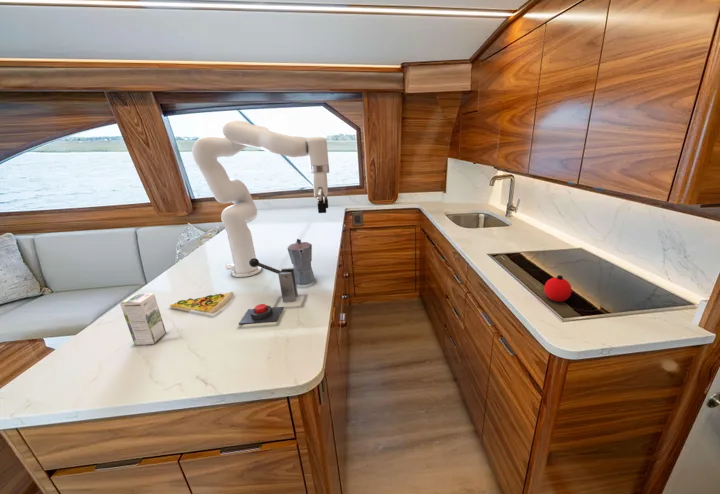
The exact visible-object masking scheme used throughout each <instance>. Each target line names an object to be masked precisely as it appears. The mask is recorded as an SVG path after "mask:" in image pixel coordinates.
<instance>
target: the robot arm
mask: <svg viewBox="0 0 720 494" xmlns="http://www.w3.org/2000/svg"><path fill="white" fill-rule="evenodd" d="M222 133H223V134H222V135H205V136H201V137H198V139H196V140H195V142H194V143H193V145H192V153H191V154H192V157H193V160H194V162H195V164H196V165H197V168H198V169H199V171H200V172H201V174H202V176H203V178H204V180H205V182H206V185H207V186H208V187H209V190H210V192H211V193H212V196H213V197H214V199H215V200H216V201H217V202H218V203H219V204H229V203H232V205H229V206H227V207H225V208H224V209H223V210H222V211H221V214H220V219H221V223H222V225H223V227H224V229H225V233H226V237H227V240H228V244H229V249H230V252H231V257H232V258H231V259H232V262H233V263H228V264H225V269H226V270H227V271H230V270H231V275H232V276H233V277H235V278H246V277H251V276H254V275H257V274H259V273H260V272H262V270H263V268H261V267H259V266H257V267H251V266H250V265H249V261H250V260H251V259H253V258H256V259H257V256H256V251H255V245H254V239H253V235H252V232H251V230H250V228H249V226H248V224H249V223H251V222H253V221H254V220H255V219H256V218H257V216H258V208H257V206H256V204H255V202H254V200H253V197H252V195H251V193H250V192H249V189H248V187H247V185H246V184H245V183H244V182H243V181H241V180H239V179H237V178H230V177H229V175H228V173H227V171H226V169H225V167H224V166H223V165H222V164H221V162H219V160H218V159H220V158H231V157H233V156H235V155H237V154H238V153H240V152H241V151H243V150H244V149H245V148H247V147H251V148H255V149H260V150H263V151H266V152H269V153H272V154H277V155H279V156H280V155H281V156H285V157H289V158H302V157H308V162H309V171H310V174H312V185H313V197H314V199H317V212H318V214H326V213H327V209H329V199H328V195H329V187H328V174H329V173H330V165H329V154H328V153H329V152H328V151H329V150H328V142H327V139H326V138H325V137H322V136H313V137H305V136H292V135H287V134H282V133H278V132H274V131H271V130H270V129H269V128H267V127H265V126H261V125H256V124H251V123H250V122H247V121H243V120H235V119H234V120H228V121H226V122H225V123H224V124H223V125H222Z"/></svg>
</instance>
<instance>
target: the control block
mask: <svg viewBox="0 0 720 494" xmlns="http://www.w3.org/2000/svg"><path fill="white" fill-rule="evenodd" d="M265 305H266V307H267V311H266V312H264V313H258V314H257V313H255V307H253V308H248V309H247V310H246V312H245V313H244V315H243V317H241V319H240V321H239V322H238V325H239V326H242V325H252V324H253V325H254V324H255V325H256V324H267V323H277V322H278V321H279V318H280V317H281V314H282V313H283V312H282V311H283V310H284V306H275V307H272V306H271V305H268V304H265Z"/></svg>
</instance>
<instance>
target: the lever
mask: <svg viewBox="0 0 720 494" xmlns="http://www.w3.org/2000/svg"><path fill="white" fill-rule="evenodd" d="M249 265H250V266H251V267H257V266H259V267H261V268H262V269H264V270H266V271H269V272H272V273H275V274H277V275H278V274H279V273H285V272H289V271H286V270H285V271H284V272H282V271H281V270H279V269H277V268H275V267H272V266H269V265H266V264H263V263H261V262H260V261H259V259H258V258H257V257H256V258H253V259H251V260H250V261H249Z"/></svg>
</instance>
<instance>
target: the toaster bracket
mask: <svg viewBox="0 0 720 494" xmlns="http://www.w3.org/2000/svg"><path fill="white" fill-rule="evenodd" d="M285 270H286V271H289V272H285V273H279V274H277V275H278V281H279V285H280V286H279V287H280V292H281V299H282V303H296V300H297V298H296V297H298V296H299V293H298V286H297V284H296V279H295V272H294V267H285V268H284V267H283V268H281V270H280V271H282V272H284V271H285Z"/></svg>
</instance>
